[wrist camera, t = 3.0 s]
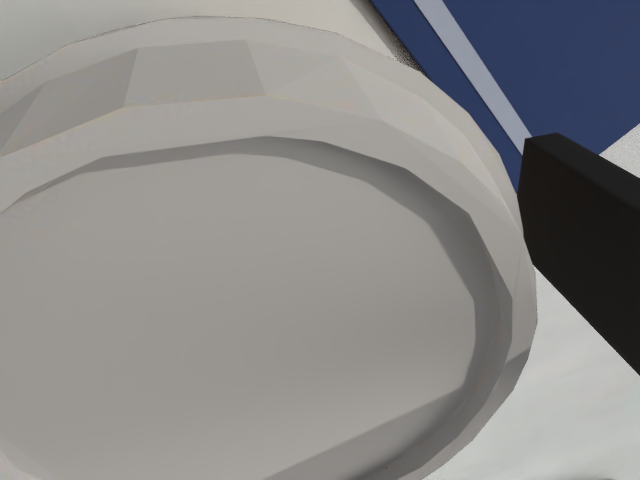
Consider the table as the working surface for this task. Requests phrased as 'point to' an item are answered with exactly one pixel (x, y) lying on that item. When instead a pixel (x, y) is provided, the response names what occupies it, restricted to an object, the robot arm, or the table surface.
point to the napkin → (529, 66)
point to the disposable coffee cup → (249, 261)
